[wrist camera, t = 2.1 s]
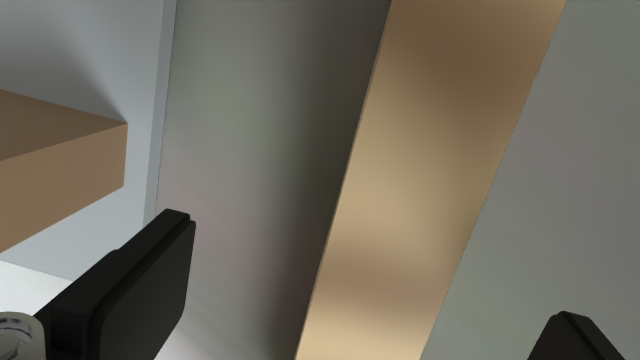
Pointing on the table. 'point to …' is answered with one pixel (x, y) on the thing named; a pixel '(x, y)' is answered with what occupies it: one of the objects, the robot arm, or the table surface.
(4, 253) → the stand
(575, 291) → the table surface
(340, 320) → the oak bar
